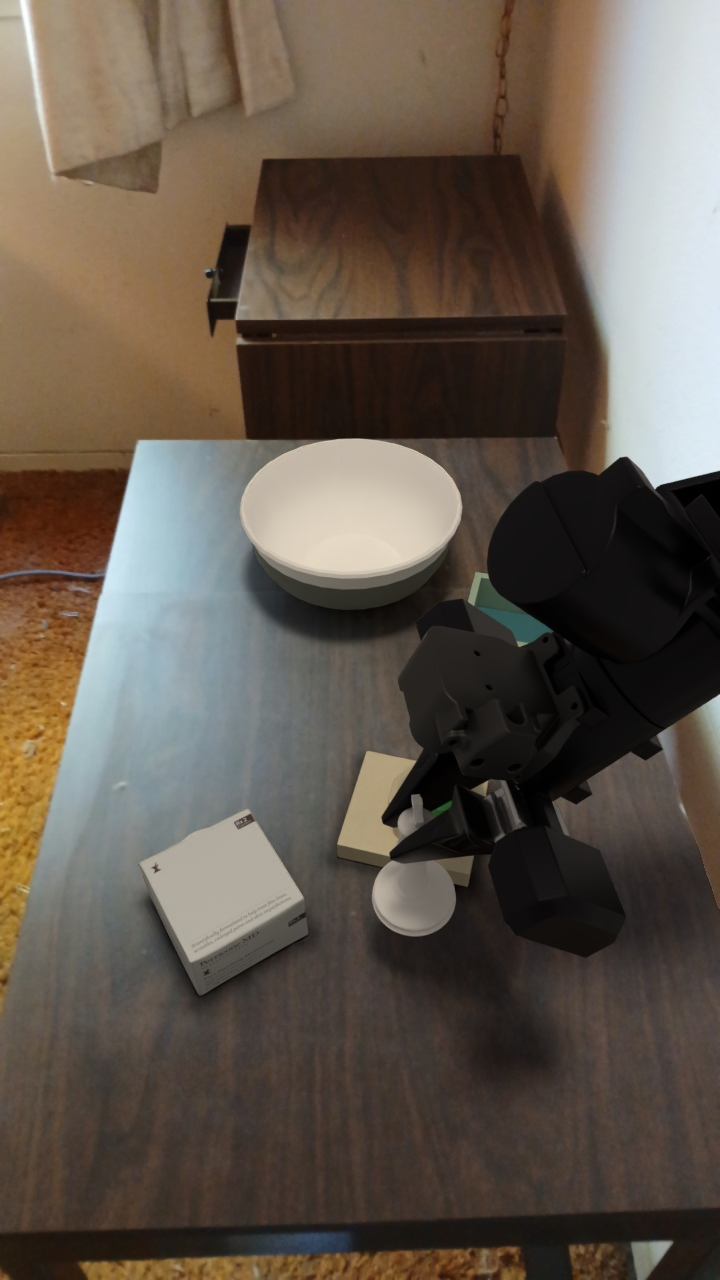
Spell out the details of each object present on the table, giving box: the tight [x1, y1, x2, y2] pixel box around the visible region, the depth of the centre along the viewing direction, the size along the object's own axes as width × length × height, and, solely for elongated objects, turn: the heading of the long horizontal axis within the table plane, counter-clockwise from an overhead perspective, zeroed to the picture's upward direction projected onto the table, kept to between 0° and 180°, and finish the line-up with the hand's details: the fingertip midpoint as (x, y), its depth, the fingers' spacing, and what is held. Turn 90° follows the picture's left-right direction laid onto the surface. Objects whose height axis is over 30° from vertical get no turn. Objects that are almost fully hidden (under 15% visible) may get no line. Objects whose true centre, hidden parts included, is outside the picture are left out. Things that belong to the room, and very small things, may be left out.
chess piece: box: [371, 794, 457, 937], centre depth 49 cm, size 5×5×10 cm
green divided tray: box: [467, 571, 553, 647], centre depth 70 cm, size 15×8×4 cm, turn 165°
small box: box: [138, 808, 309, 997], centre depth 56 cm, size 8×8×5 cm
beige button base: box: [336, 750, 490, 888], centre depth 61 cm, size 9×8×4 cm
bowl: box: [239, 438, 463, 611], centre depth 77 cm, size 19×19×8 cm
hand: (390, 840), depth 48 cm, fingers closed on chess piece
